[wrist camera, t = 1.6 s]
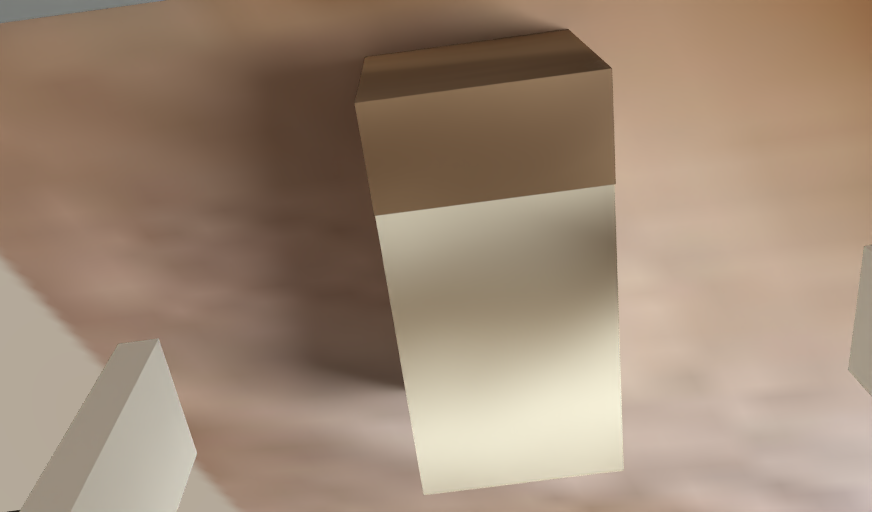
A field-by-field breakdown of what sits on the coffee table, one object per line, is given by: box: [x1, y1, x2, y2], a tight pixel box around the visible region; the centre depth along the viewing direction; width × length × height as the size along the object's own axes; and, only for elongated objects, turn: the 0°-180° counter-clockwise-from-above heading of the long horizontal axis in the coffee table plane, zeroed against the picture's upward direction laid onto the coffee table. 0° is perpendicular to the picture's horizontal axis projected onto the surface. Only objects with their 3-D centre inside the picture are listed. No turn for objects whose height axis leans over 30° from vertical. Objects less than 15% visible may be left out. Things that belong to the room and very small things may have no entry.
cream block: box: [355, 29, 624, 495], centre depth 20 cm, size 10×5×4 cm, turn 7°
